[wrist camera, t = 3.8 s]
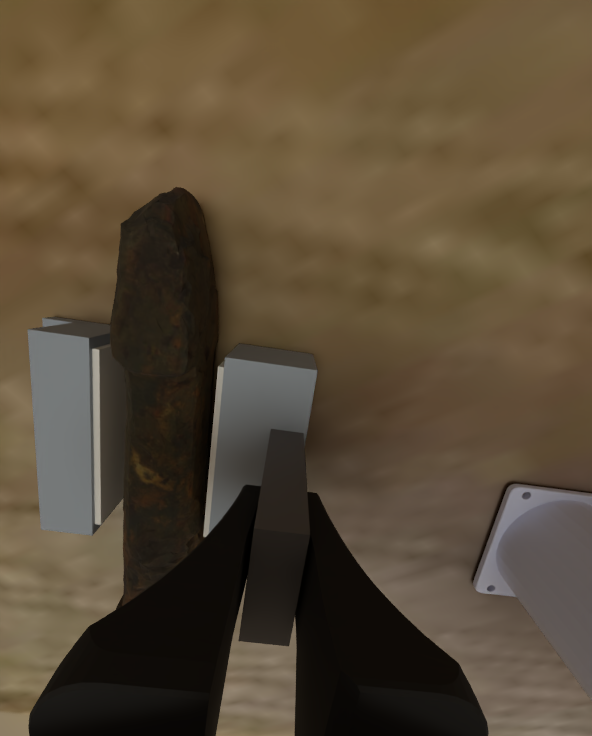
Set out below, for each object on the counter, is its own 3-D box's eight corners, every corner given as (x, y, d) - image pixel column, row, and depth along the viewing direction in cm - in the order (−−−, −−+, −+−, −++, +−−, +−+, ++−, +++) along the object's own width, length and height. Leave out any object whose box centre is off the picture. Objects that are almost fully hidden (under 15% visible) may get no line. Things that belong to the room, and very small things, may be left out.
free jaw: (312, 353, 17) (336, 433, 7) (287, 510, 19) (280, 716, 10) (233, 342, 16) (156, 409, 7) (217, 501, 19) (145, 703, 10)
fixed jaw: (137, 328, 16) (96, 339, 13) (134, 491, 19) (98, 536, 15) (54, 316, 16) (-10, 323, 13) (61, 482, 19) (9, 525, 15)
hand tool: (212, 579, 21) (184, 680, 15) (140, 569, 20) (86, 668, 15) (266, 219, 15) (253, 181, 10) (170, 200, 15) (102, 149, 10)
